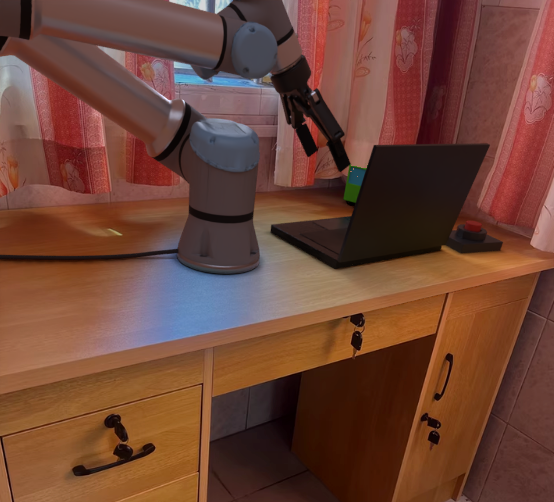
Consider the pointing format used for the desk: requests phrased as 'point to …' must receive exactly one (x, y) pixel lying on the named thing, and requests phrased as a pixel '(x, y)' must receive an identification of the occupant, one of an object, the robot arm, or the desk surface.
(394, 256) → the laptop
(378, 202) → the laptop screen
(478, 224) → the power button
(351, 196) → the toy car
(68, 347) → the desk surface
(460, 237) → the switch box
